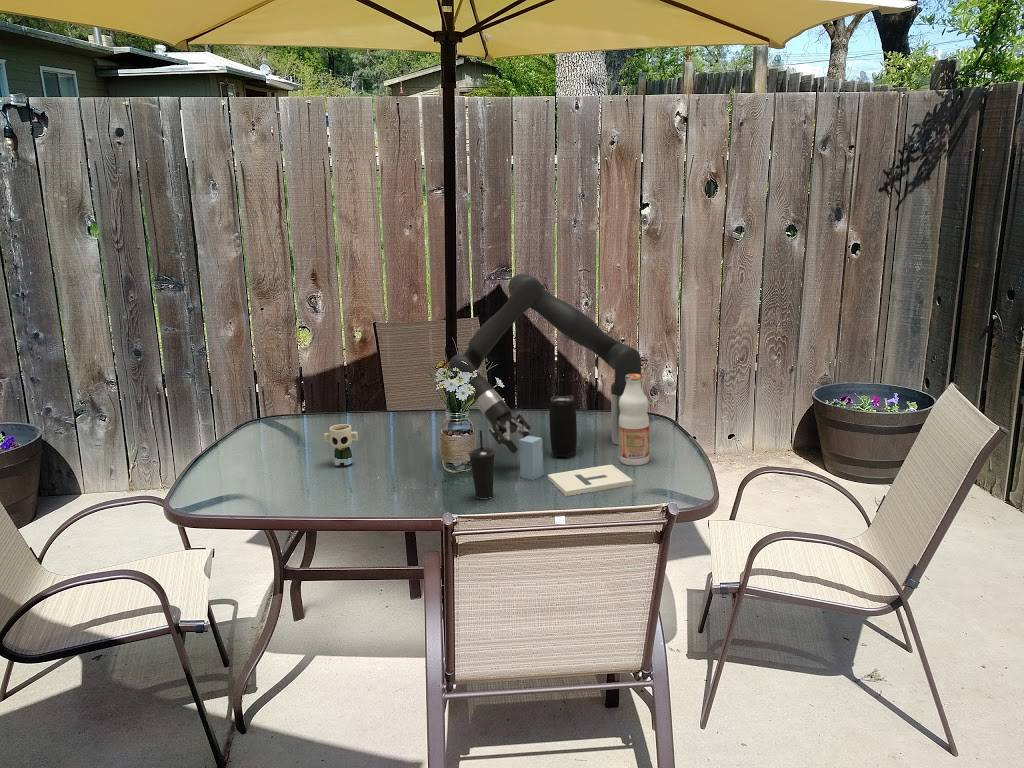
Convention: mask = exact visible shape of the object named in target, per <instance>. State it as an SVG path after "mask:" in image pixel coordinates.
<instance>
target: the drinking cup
mask: <svg viewBox="0 0 1024 768" xmlns="http://www.w3.org/2000/svg"><path fill="white" fill-rule="evenodd" d="M483 443H484V442H483V431H482V430H480V429H479V446H478V447H475V448H474V449H473V448H472V449H471V450H468V455H469V460H470V466H471V473H472V478H473V485H474V490H475V491H474V492H475V497H476V496H477V497H479V498H489V497H492V496H494V478H495V476H494V474H495V454H496V450H495V449H493V448H490V447H488V446H483ZM492 498H493V497H492Z"/></svg>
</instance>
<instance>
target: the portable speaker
mask: <svg viewBox="0 0 1024 768" xmlns="http://www.w3.org/2000/svg"><path fill="white" fill-rule="evenodd" d="M549 400H550V402H549V438H550V448H551V451H552V452H551V453H552V454H551V455H552V457H553V456H554V457H553V458H555V457H557V458H558V457H565V458H566V459H568V458H569V459H571V458H574V457H576V454H577V442H578V441H577V440H578V437H577V436H578V434H577V431H578V430H577V428H578V427H577V425H578V424H577V410H576V404H575V397H574V395H569V394H568V395H553V396H551V397H550V398H549Z"/></svg>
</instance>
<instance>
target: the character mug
mask: <svg viewBox="0 0 1024 768" xmlns="http://www.w3.org/2000/svg"><path fill="white" fill-rule="evenodd" d="M323 435H324V442H325V443H328V444H329V443H330V445H331V447H332V448H333V449H334V456H333V457H335V458H337V459H348V458H351V457H353V453H352V450H351V447H350V446H352V445H353V443H354V442H358V441H359V437H358V436H359V435H358V431H352V425H351V424H348V423H341V424H335V425H332V426H330V427H329V432H326V433H324V434H323ZM353 435H354V438H353ZM328 437H329V438H328Z"/></svg>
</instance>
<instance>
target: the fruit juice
mask: <svg viewBox="0 0 1024 768" xmlns="http://www.w3.org/2000/svg"><path fill="white" fill-rule="evenodd" d="M625 380H626V386H625V390H624V392H623V394H622V396H621V397H620V400H619V407H620V411H621V413H620V416H619V445H618V449H619V450H618V452H619V453H618V455H619V457H618V459H619V462H620V463H621V464H623V465H626V466H643V465H646V464H648V463H649V461H650V419H649V414H648V409H649V400H648V397H647V396H646V394H645V393H644V391H643V388H642V385H641V383H640V381H641V382H642V374H641V375H639V374H628V375H626V376H625Z"/></svg>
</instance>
